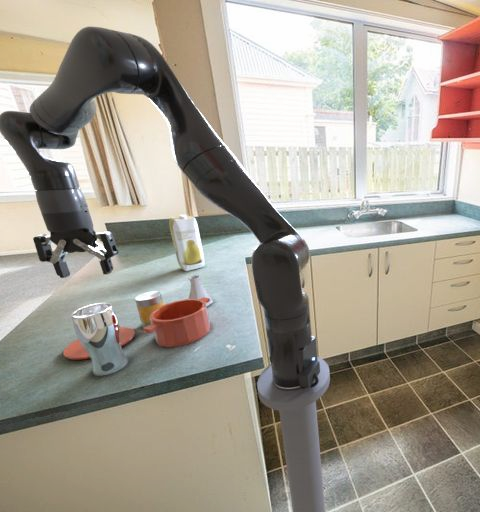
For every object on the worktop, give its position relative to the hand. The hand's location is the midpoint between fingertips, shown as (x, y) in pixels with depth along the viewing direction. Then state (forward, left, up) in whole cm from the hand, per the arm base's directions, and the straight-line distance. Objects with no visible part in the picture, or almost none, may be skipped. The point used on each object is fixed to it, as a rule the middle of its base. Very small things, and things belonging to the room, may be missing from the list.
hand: (87, 275), depth 72 cm
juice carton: (+28, -52, -19) cm, 62 cm away
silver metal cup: (-11, +7, -19) cm, 24 cm away
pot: (-15, -9, -19) cm, 26 cm away
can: (-2, -11, -19) cm, 22 cm away
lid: (+1, +1, -19) cm, 19 cm away
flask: (-5, -24, -19) cm, 31 cm away
